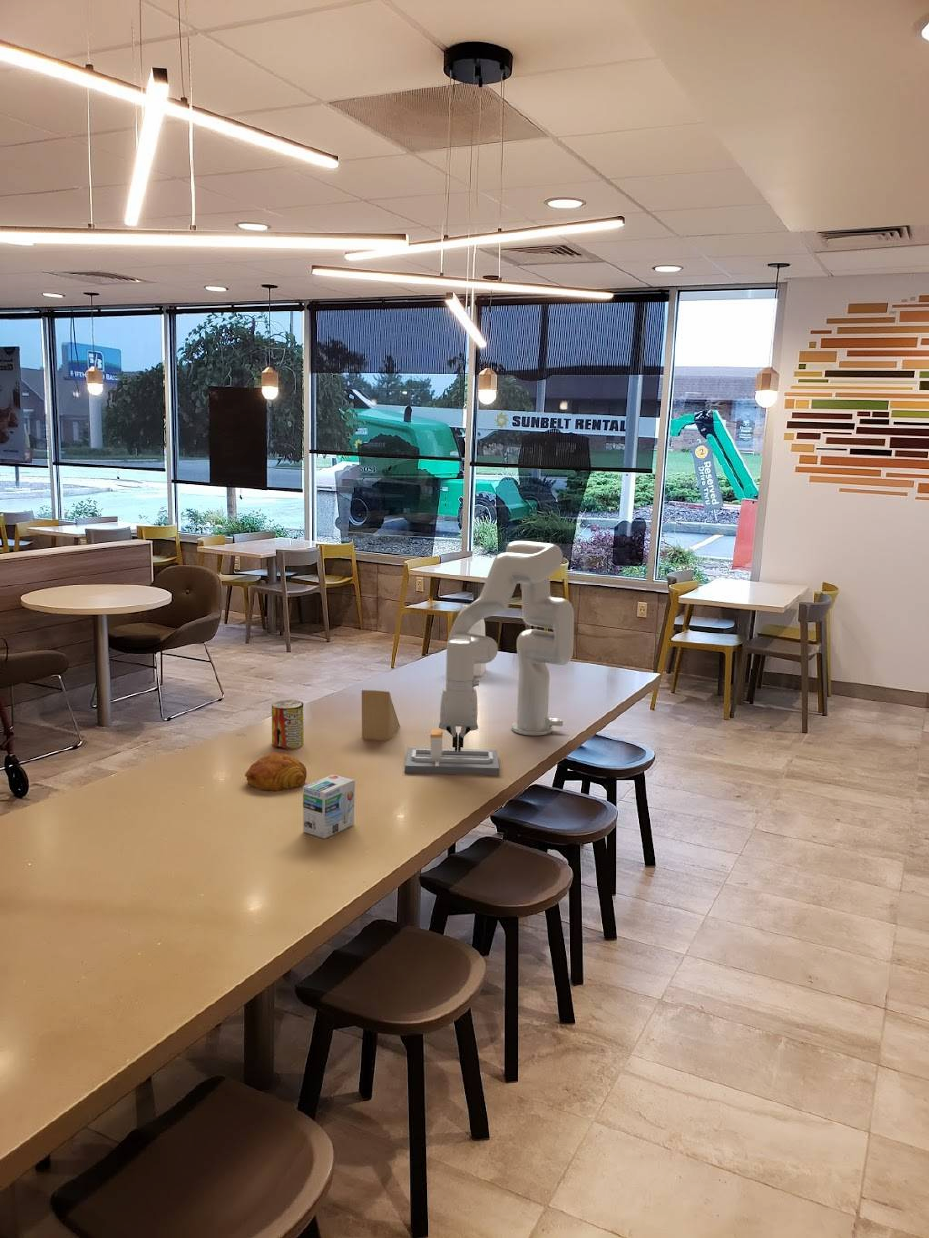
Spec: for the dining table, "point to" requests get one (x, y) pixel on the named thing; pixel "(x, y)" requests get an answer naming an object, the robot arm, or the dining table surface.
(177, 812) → the dining table surface
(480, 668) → the white tall block
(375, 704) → the sandwich container
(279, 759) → the croissant
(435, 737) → the fader knob
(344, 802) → the light bulb box
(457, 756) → the board
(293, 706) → the beverage can
